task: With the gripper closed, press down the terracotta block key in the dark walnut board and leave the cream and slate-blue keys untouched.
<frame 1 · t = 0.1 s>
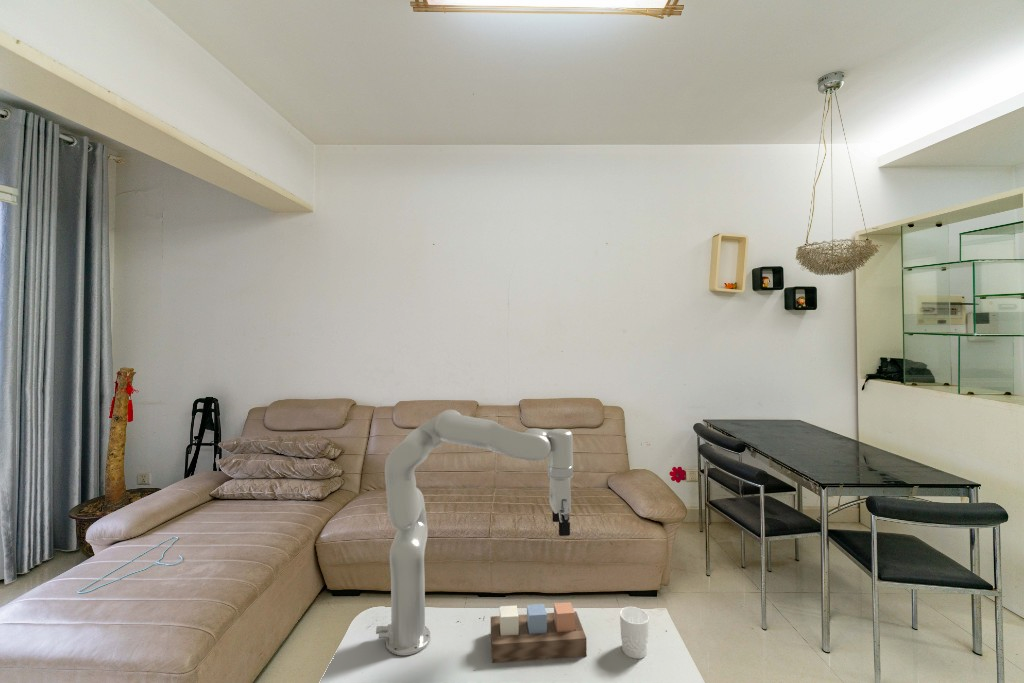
hand: (560, 528, 131), 31 cm above the table, fingers open, 9 cm apart
key board: (536, 644, 126), on the table
terracotta key: (564, 618, 126), point 7 cm above the table, slide at 0.0 cm
cream key: (508, 621, 125), point 7 cm above the table, slide at 0.0 cm
white cup: (634, 651, 123), on the table
slate key: (536, 620, 126), point 7 cm above the table, slide at 0.0 cm
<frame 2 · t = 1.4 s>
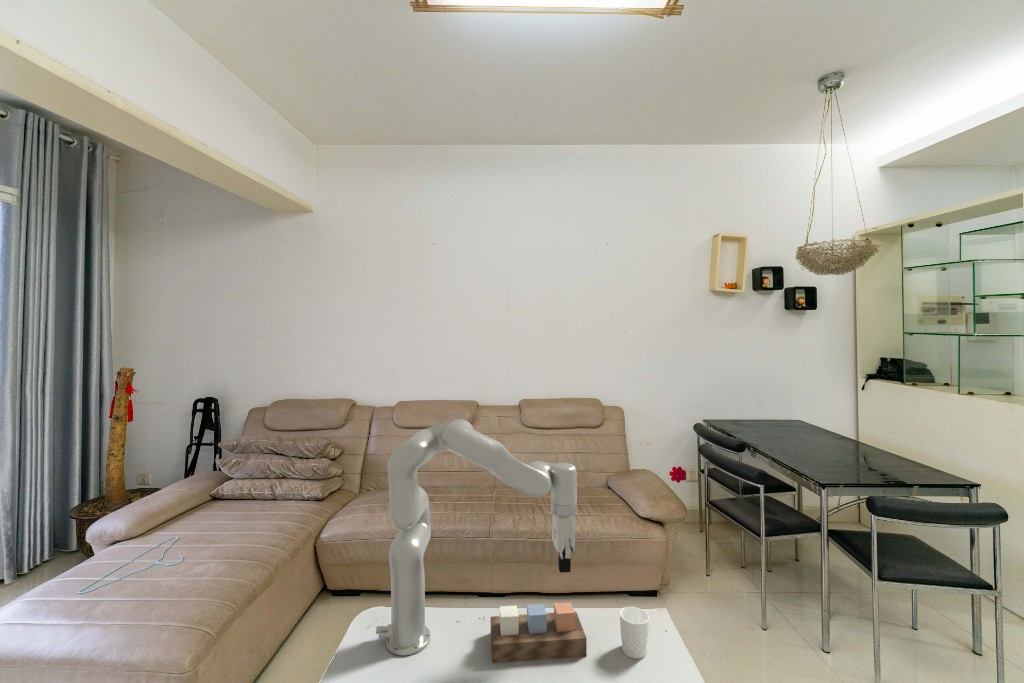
hand: (564, 570, 126), 21 cm above the table, fingers closed
nothing on the table moved.
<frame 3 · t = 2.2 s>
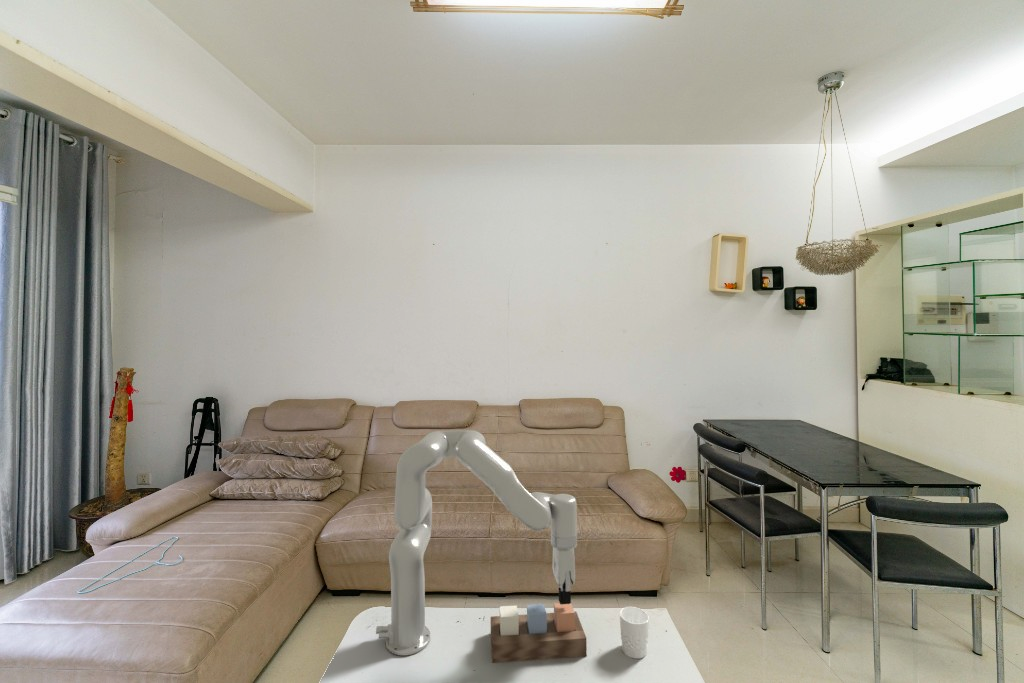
hand: (564, 602, 126), 12 cm above the table, fingers closed
nothing on the table moved.
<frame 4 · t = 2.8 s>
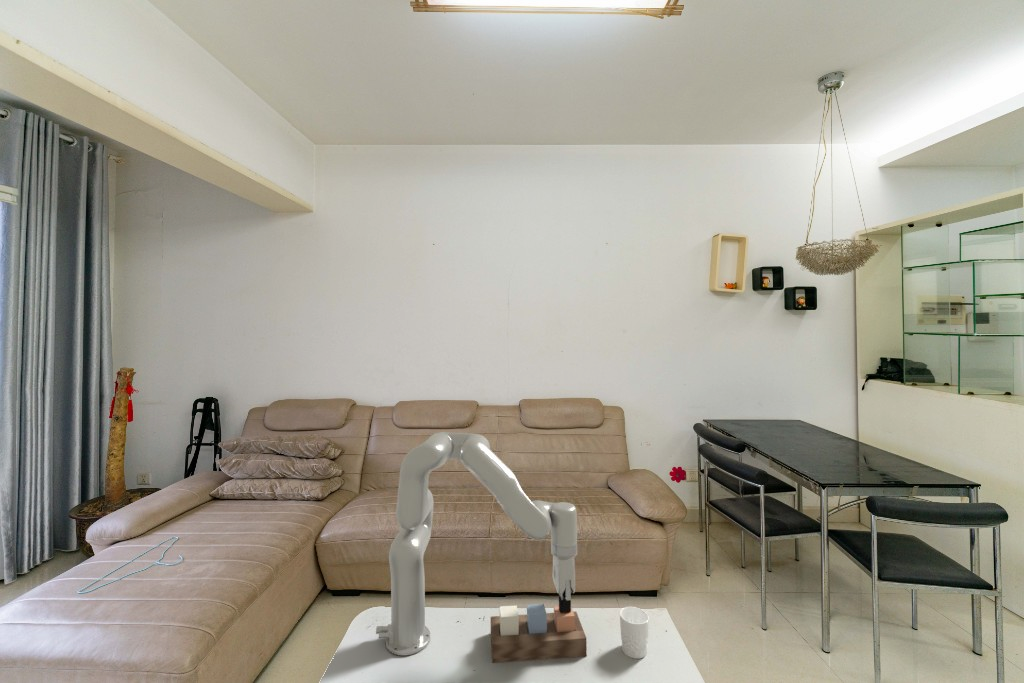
hand: (564, 610, 126), 9 cm above the table, fingers closed
terracotta key: (564, 621, 126), point 6 cm above the table, slide at 0.9 cm, touching gripper
everything else where it was.
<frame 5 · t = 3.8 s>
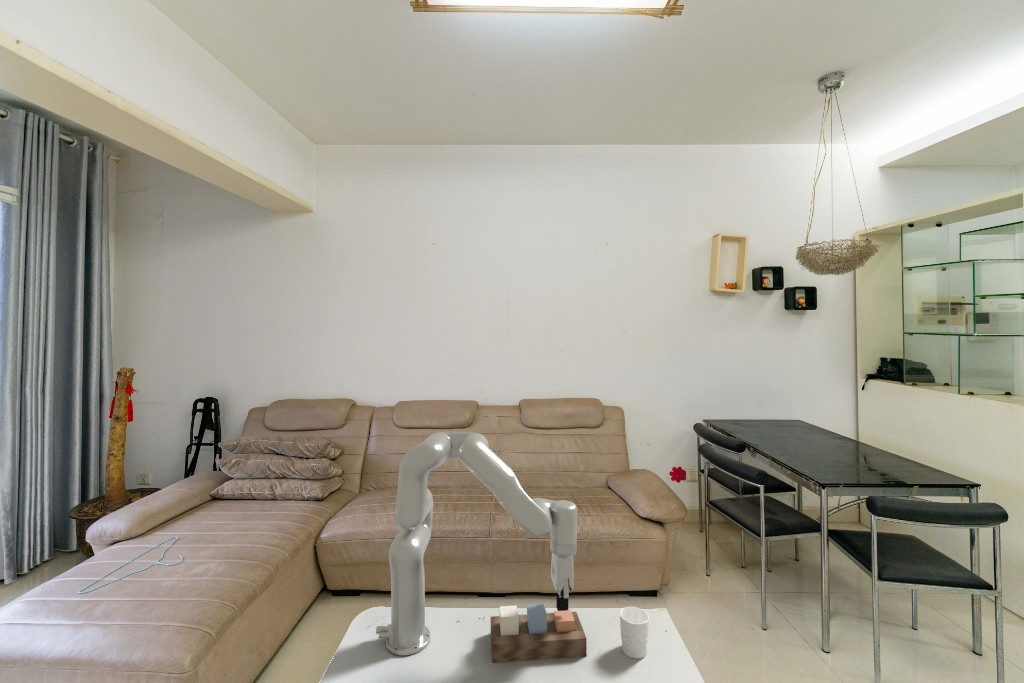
hand: (562, 608, 126), 10 cm above the table, fingers closed
terracotta key: (564, 626, 126), point 5 cm above the table, slide at 2.2 cm
everything else where it was.
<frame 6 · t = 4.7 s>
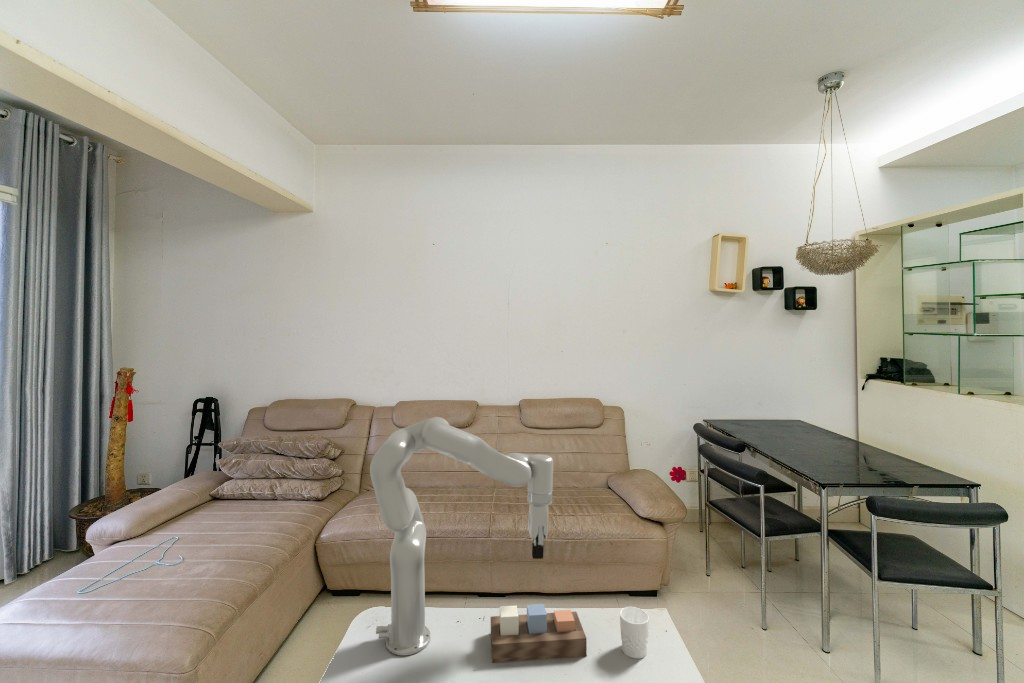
hand: (537, 557, 132), 22 cm above the table, fingers closed
nothing on the table moved.
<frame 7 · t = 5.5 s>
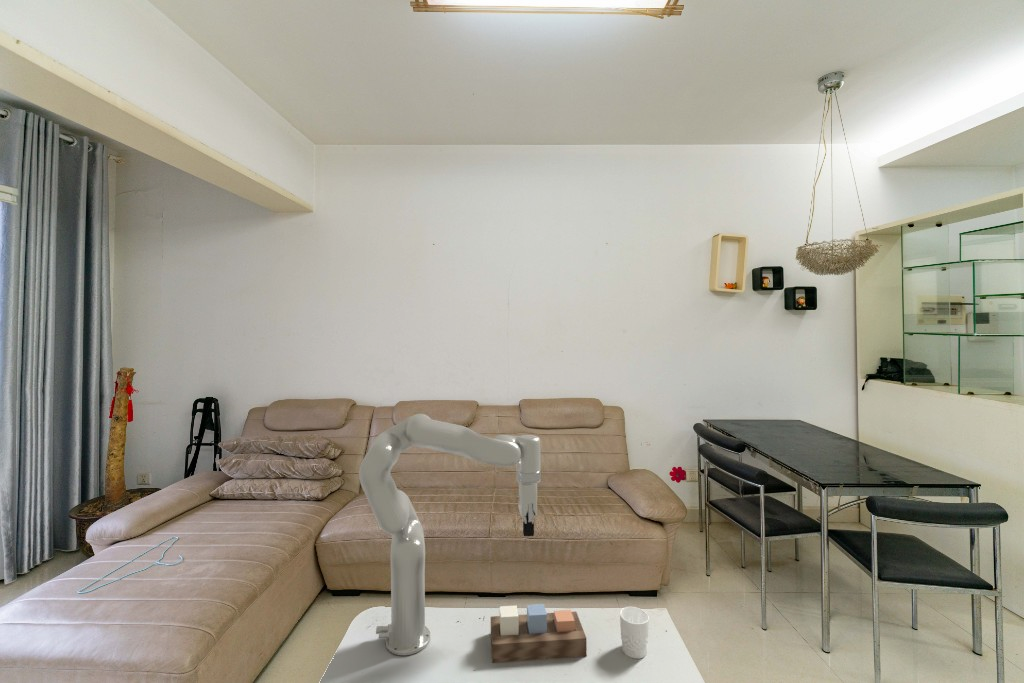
hand: (528, 534, 135), 27 cm above the table, fingers closed
nothing on the table moved.
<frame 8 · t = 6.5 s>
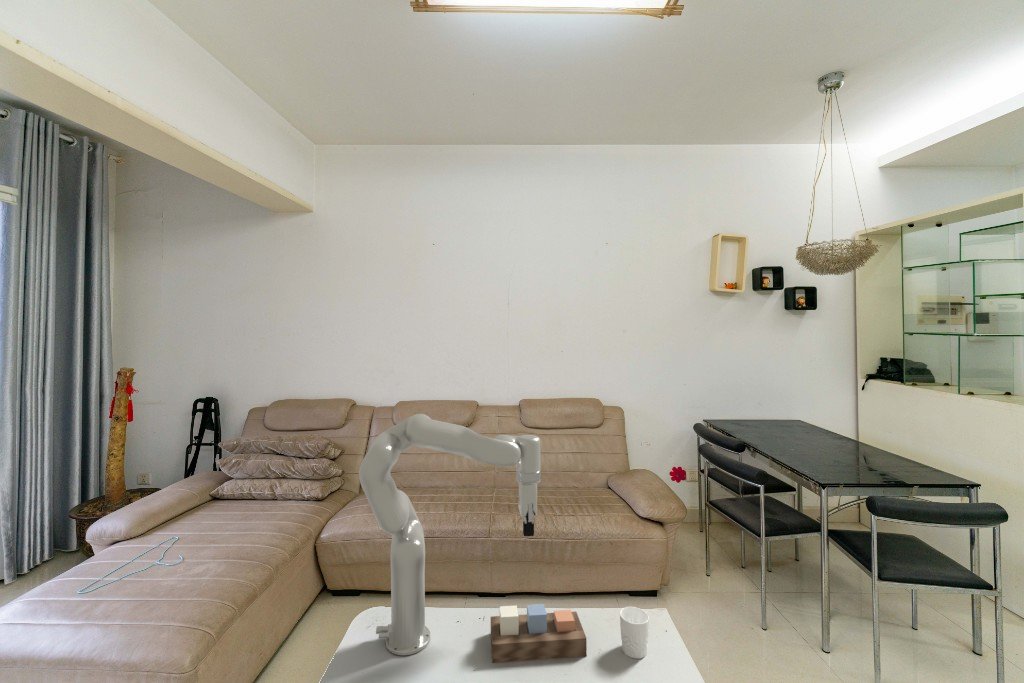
hand: (528, 534, 135), 27 cm above the table, fingers closed
nothing on the table moved.
at the end: terracotta key slide at 2.2 cm; cream key slide at 0.0 cm; slate key slide at 0.0 cm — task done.
